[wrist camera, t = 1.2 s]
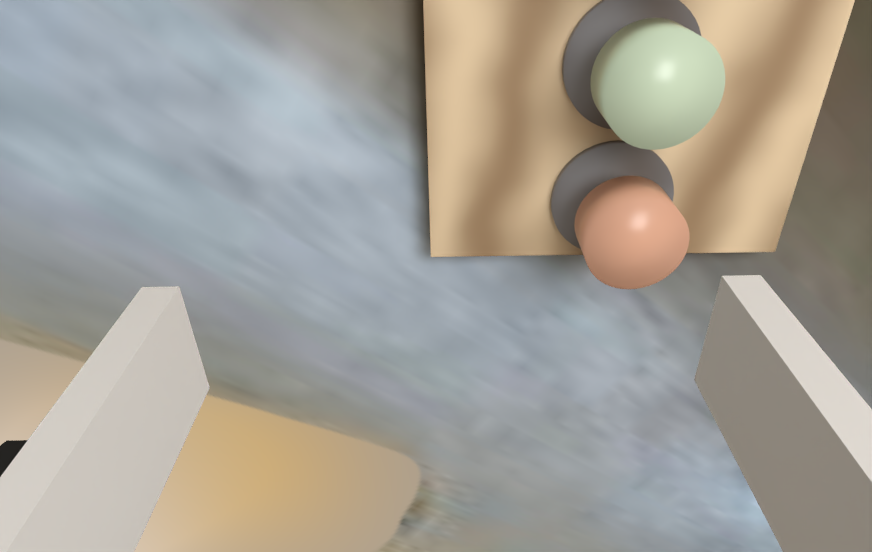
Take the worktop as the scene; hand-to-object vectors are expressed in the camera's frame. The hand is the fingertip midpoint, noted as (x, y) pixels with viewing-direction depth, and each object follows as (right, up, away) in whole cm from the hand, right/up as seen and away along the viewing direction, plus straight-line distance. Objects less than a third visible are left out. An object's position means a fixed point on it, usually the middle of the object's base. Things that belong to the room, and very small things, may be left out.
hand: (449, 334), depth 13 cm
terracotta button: (+10, +4, +22) cm, 25 cm away
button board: (+10, +14, +22) cm, 28 cm away
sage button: (+10, +11, +18) cm, 23 cm away
